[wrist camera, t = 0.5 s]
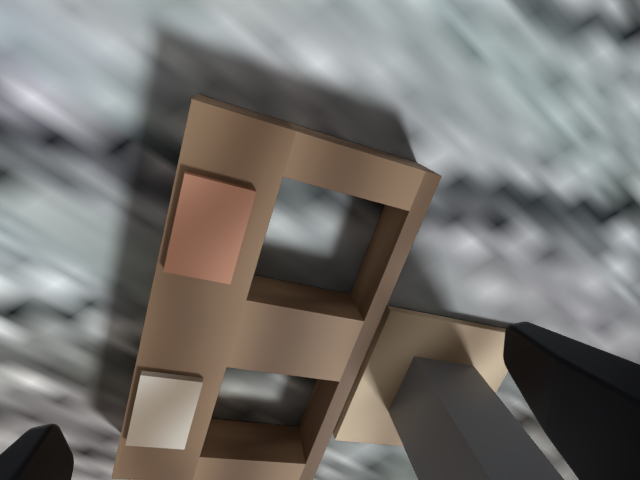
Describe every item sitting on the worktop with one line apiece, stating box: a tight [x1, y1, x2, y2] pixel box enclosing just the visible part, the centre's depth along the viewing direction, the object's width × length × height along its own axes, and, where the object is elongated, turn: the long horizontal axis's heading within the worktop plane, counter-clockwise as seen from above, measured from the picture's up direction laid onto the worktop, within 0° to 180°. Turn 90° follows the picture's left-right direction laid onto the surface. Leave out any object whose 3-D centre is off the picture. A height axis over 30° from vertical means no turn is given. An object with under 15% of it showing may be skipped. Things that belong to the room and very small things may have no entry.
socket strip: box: [112, 94, 441, 480], centre depth 20 cm, size 10×18×3 cm, turn 161°
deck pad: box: [333, 306, 508, 446], centre depth 25 cm, size 9×9×1 cm
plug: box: [388, 356, 564, 480], centre depth 21 cm, size 4×4×9 cm
